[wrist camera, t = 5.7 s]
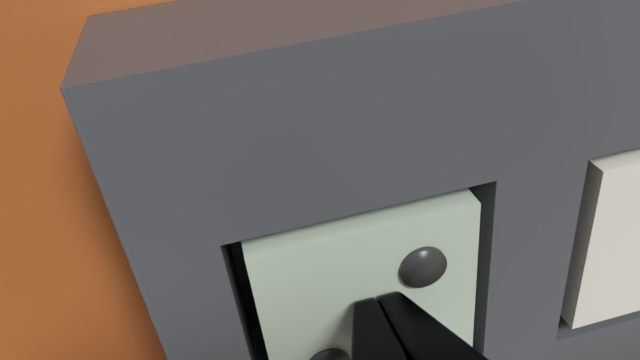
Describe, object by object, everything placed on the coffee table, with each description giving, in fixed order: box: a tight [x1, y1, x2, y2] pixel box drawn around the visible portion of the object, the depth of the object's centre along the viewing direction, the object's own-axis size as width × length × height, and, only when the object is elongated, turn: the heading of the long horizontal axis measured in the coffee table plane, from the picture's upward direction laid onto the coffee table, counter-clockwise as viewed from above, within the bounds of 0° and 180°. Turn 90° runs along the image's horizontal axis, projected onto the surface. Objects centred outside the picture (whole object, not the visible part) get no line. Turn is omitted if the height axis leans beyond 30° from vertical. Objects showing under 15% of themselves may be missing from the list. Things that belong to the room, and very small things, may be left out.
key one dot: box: [560, 147, 640, 329], centre depth 12 cm, size 4×4×2 cm
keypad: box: [60, 0, 640, 360], centre depth 12 cm, size 19×10×3 cm, turn 97°
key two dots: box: [241, 188, 481, 360], centre depth 11 cm, size 4×4×2 cm
